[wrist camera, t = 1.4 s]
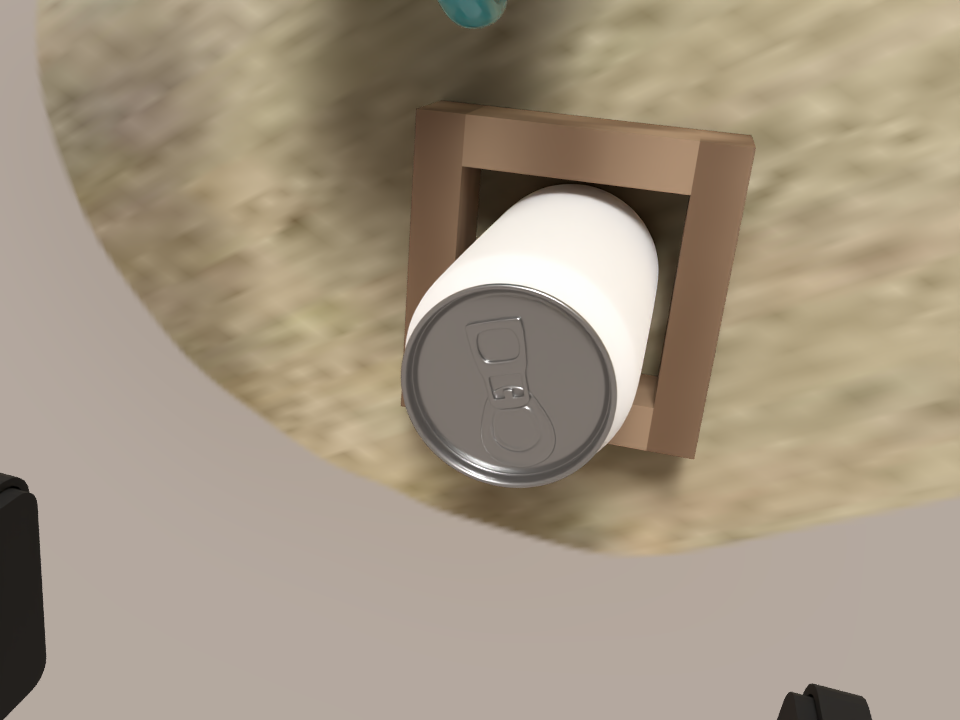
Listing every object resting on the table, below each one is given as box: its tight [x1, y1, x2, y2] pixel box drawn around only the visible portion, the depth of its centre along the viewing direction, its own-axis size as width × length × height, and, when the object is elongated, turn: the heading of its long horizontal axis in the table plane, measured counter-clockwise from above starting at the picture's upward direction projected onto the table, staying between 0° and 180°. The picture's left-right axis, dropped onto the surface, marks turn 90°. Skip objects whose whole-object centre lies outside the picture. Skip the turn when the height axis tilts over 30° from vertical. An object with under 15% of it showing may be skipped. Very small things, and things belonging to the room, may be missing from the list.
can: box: [401, 184, 658, 488], centre depth 28 cm, size 6×6×12 cm
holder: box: [401, 100, 756, 459], centre depth 32 cm, size 11×11×3 cm
